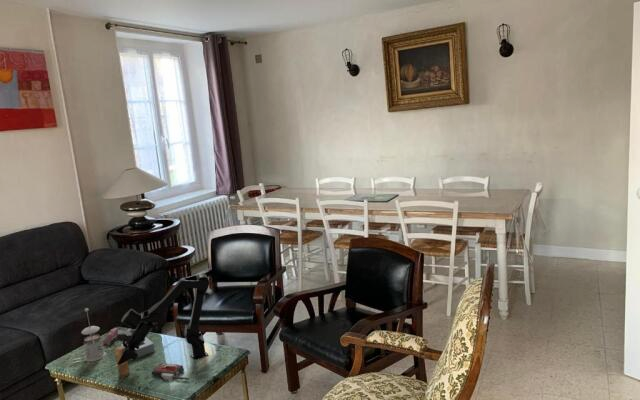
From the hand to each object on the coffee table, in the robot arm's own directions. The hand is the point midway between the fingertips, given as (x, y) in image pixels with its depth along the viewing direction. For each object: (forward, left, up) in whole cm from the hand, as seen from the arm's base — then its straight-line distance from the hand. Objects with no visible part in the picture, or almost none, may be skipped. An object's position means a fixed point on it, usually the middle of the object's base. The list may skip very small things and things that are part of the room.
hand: (118, 361), depth 212 cm
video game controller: (+42, -8, -7) cm, 43 cm away
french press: (+30, +3, -7) cm, 31 cm away
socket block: (+17, -13, -7) cm, 23 cm away
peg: (0, -1, -7) cm, 7 cm away
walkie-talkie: (-18, -17, -7) cm, 26 cm away
